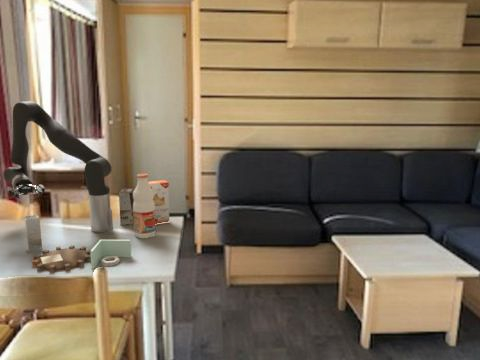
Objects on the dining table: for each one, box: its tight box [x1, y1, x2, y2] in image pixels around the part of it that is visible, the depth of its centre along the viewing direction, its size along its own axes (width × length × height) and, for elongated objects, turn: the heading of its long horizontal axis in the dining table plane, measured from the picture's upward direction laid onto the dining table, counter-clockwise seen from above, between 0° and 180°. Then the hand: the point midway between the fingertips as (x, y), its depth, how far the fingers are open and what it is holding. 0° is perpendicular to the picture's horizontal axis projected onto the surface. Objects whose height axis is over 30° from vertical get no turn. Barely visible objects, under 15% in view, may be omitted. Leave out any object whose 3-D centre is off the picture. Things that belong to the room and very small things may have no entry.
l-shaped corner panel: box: [90, 239, 132, 269], centre depth 171 cm, size 12×12×8 cm
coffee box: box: [118, 187, 136, 226], centre depth 217 cm, size 9×6×16 cm
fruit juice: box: [133, 173, 157, 239], centre depth 198 cm, size 9×9×28 cm
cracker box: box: [148, 179, 170, 224], centre depth 214 cm, size 14×6×21 cm, turn 119°
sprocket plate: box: [31, 244, 92, 273], centre depth 173 cm, size 22×22×2 cm
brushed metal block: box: [23, 214, 44, 254], centre depth 181 cm, size 5×5×14 cm
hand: (29, 195), depth 187 cm, fingers open, 8 cm apart
